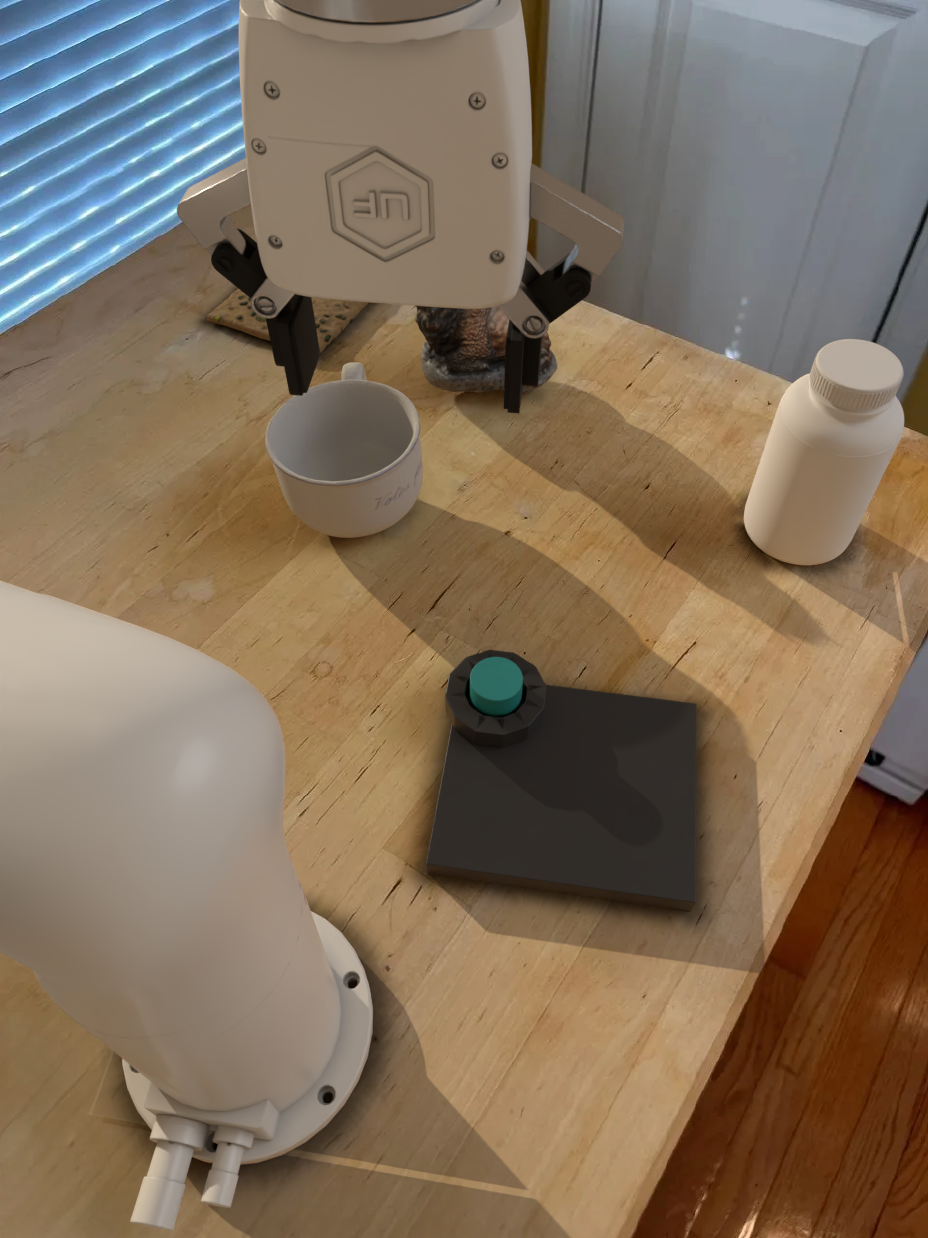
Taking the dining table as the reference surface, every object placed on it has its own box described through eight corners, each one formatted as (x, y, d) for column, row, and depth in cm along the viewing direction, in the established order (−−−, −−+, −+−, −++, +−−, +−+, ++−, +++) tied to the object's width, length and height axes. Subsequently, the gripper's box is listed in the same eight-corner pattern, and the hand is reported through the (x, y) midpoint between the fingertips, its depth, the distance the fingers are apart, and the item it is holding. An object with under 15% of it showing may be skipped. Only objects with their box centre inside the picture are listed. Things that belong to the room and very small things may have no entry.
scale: (691, 912, 52) (702, 892, 50) (417, 872, 54) (414, 851, 51) (692, 701, 61) (701, 675, 58) (455, 671, 62) (454, 645, 60)
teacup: (405, 569, 68) (399, 489, 61) (262, 547, 69) (241, 466, 63) (446, 441, 76) (444, 359, 70) (317, 423, 77) (304, 341, 71)
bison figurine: (547, 354, 83) (556, 249, 75) (563, 406, 78) (574, 300, 70) (411, 366, 82) (406, 260, 74) (420, 419, 77) (415, 313, 69)
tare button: (518, 719, 57) (519, 703, 55) (466, 712, 57) (466, 697, 56) (524, 676, 59) (525, 659, 57) (473, 669, 59) (474, 653, 58)
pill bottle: (718, 525, 70) (770, 359, 58) (784, 475, 73) (845, 308, 61) (806, 587, 67) (881, 423, 55) (871, 531, 70) (955, 365, 58)
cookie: (277, 255, 92) (276, 246, 91) (385, 287, 89) (384, 278, 88) (204, 320, 86) (201, 311, 85) (317, 358, 82) (315, 349, 81)
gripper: (64, -23, 27) (200, 424, 41) (661, 4, 26) (596, 458, 40) (149, -110, 32) (246, 320, 46) (663, -91, 30) (603, 347, 44)
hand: (409, 384), depth 43 cm, fingers open, 9 cm apart
